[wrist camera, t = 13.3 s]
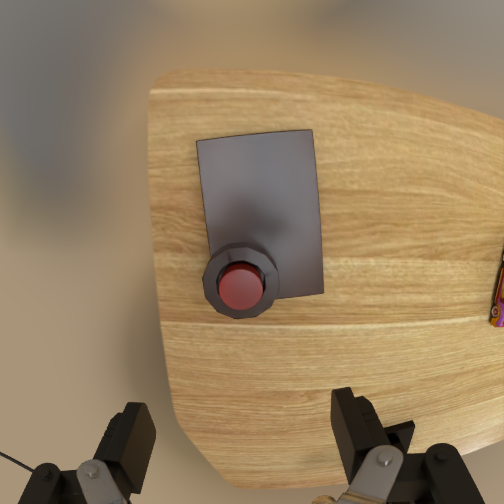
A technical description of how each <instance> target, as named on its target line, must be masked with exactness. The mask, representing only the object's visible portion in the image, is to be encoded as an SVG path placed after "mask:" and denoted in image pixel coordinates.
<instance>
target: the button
mask: <svg viewBox="0 0 504 504" xmlns="http://www.w3.org/2000/svg"><path fill="white" fill-rule="evenodd" d="M219 294H220V297H221V299H222V301H223V302H224V303H225V304H226V305H227V306H229V307H231V308H233V309H236V310H246V309H249V308H252V307H253V306H255V305H256V304H257V303H258V302H259V301H260V299H261V297H262V294H263V285H262V278H261V276H260V274H259V272H258V271H257V270H256V269H255V268H254V267H253V266H251V265H248V264H245V263H238V264H234V265H231V266H229V267H228V268H227V269H226V270H225V271H224V272H223V274H222V276H221V280H220V284H219Z"/></svg>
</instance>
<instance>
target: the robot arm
mask: <svg viewBox="0 0 504 504" xmlns="http://www.w3.org/2000/svg"><path fill="white" fill-rule="evenodd" d="M331 425H332V429H333V433H334V436H335V439H336V443H337V446H338V449H339V453H340V456H341V460H342V463H343V466H344V470H345V473H346V477H347V480H348V484H349V485H350V486H349V488H348V490H347V491H346V492H345V493H342V495H341V496H340V497H339V499H338V500H337V502H336V503H335V504H386V503H387V502H405V501H410V504H485V503H484V501H483V498H482V496H481V495H480V492H479V491H478V488H477V486H476V484H475V483H474V481H473V479H472V477H471V475H470V473H469V471H468V469H467V467H466V465H465V463H464V461H463V460H462V458H461V456H460V454H459V452H458V451H457V449H456V448H455V447H454V446H452V445H450V444H447V443H438V444H435V445H432V446H431V447H429V448H428V450H427V451H426V453H415V454H408V453H403V452H401V451H400V450H399V449H397V448H396V447H394V446H392V445H391V443H390V441H389V439H388V437H387V435H386V433H385V430H384V428H383V426H382V424H381V422H380V420H379V418H378V416H377V414H376V413H375V409H374V407H373V405H372V403H371V402H370V401H369V400H367V399H366V398H365V397H364V396H360V397H354V395H353V392H352V390H351V388H350V387H345V388H339V389H333V390H332V394H331ZM155 439H156V429H155V426H154V423H153V420H152V418H151V415H150V413H149V411H148V408H147V405H146V404H145V403H138V402H128V403H127V404H126V407H125V409H124V411H123V413H117V414H116V415H115V416H114V417H113V418H112V419H111V420H110V422H109V424H108V427H107V430H106V431H105V433H104V436H103V437H102V440H101V442H100V444H99V446H98V448H97V451H96V453H95V455H94V457H93V459H92V460H88V461H85V462H84V463H82V464H81V465H80V466H79V467H78V469H77V470H69V471H60V470H59V468H58V467H57V466H56V465H55V464H52V463H43V464H41V465H39V466H37V467H36V468H35V469H34V470H33V469H31V468H30V467H28V466H26V465H24V464H22V463H21V462H19V461H17V460H15V459H13V458H11V457H9V456H8V455H6V454H4V453H1V452H0V455H1V456H3V457H5V458H7V459H9V460H11V461H12V462H14V463H16V464H18V465H20V466H22V467H23V468H25V469H27V470H29V471H30V472H32V475H31V477H30V479H29V481H28V483H27V485H26V488H25V489H24V492H23V494H22V496H21V498H20V500H19V502H18V504H132V503H131V501H130V500H129V498H130V495H131V493H135V494H140V492H141V489H142V485H143V482H144V478H145V475H146V471H147V467H148V464H149V460H150V457H151V453H152V449H153V446H154V443H155Z"/></svg>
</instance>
